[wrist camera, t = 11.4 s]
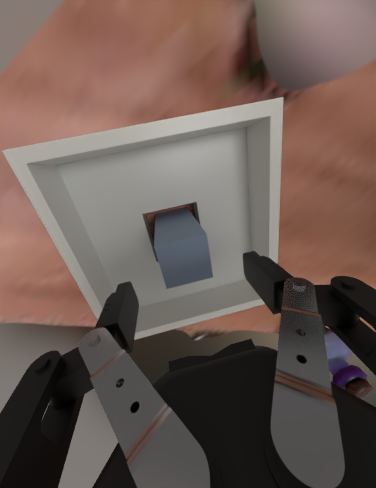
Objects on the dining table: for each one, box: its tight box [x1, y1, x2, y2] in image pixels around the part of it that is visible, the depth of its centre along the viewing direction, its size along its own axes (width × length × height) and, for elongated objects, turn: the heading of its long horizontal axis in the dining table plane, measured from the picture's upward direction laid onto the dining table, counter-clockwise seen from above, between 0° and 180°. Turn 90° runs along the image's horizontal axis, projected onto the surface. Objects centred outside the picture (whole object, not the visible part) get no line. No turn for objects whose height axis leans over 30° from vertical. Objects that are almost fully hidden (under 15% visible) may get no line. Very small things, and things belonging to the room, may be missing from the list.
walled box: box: [2, 97, 283, 340], centre depth 20 cm, size 20×20×7 cm
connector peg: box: [154, 207, 213, 289], centre depth 18 cm, size 4×4×10 cm
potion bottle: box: [323, 326, 373, 398], centre depth 30 cm, size 9×9×12 cm
